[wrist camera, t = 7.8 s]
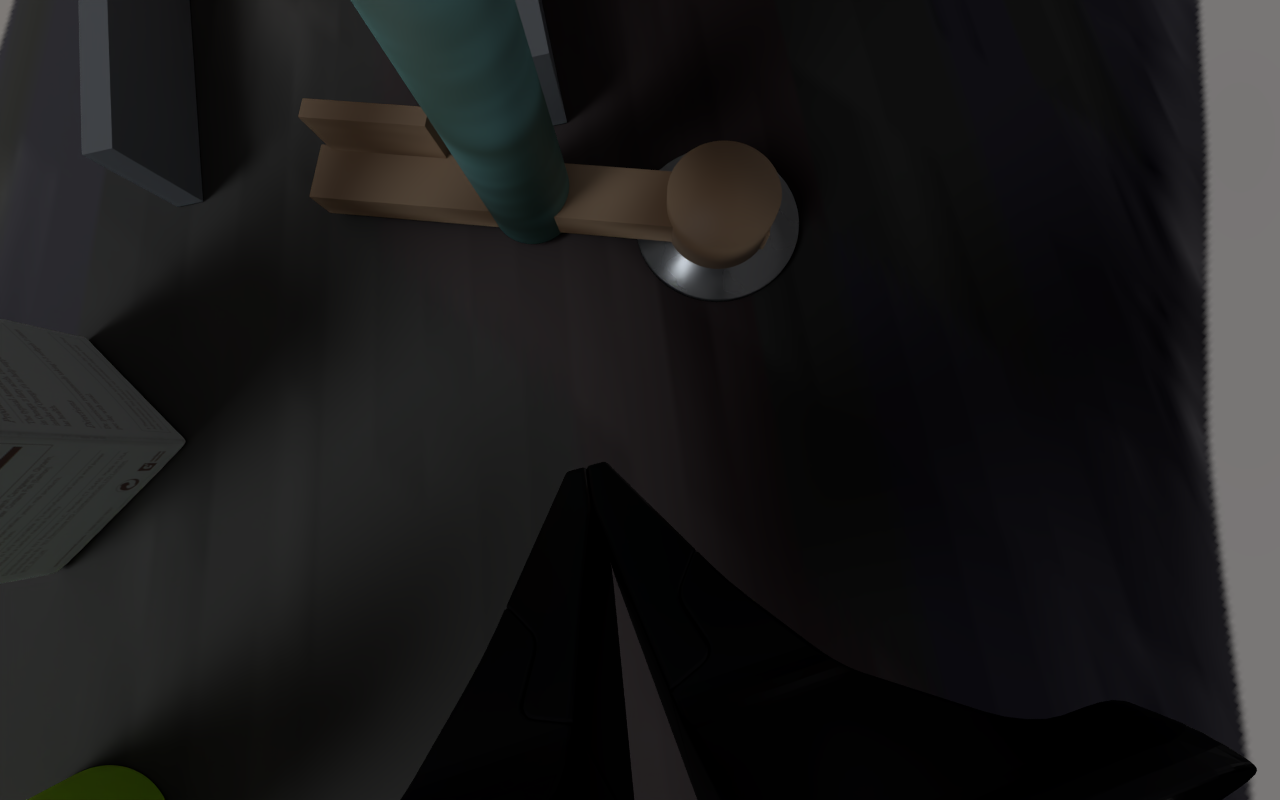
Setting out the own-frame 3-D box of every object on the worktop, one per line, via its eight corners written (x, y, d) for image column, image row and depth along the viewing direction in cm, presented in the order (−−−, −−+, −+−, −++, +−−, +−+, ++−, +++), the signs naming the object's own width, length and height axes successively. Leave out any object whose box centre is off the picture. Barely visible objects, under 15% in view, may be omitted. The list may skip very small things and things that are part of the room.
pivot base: (756, 130, 20) (758, 125, 20) (823, 265, 19) (826, 262, 19) (612, 186, 20) (611, 182, 20) (672, 326, 19) (672, 323, 19)
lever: (771, 178, 20) (954, -275, 8) (764, 274, 19) (951, -56, 7) (348, 146, 21) (-82, -302, 9) (328, 236, 20) (-165, -111, 8)
